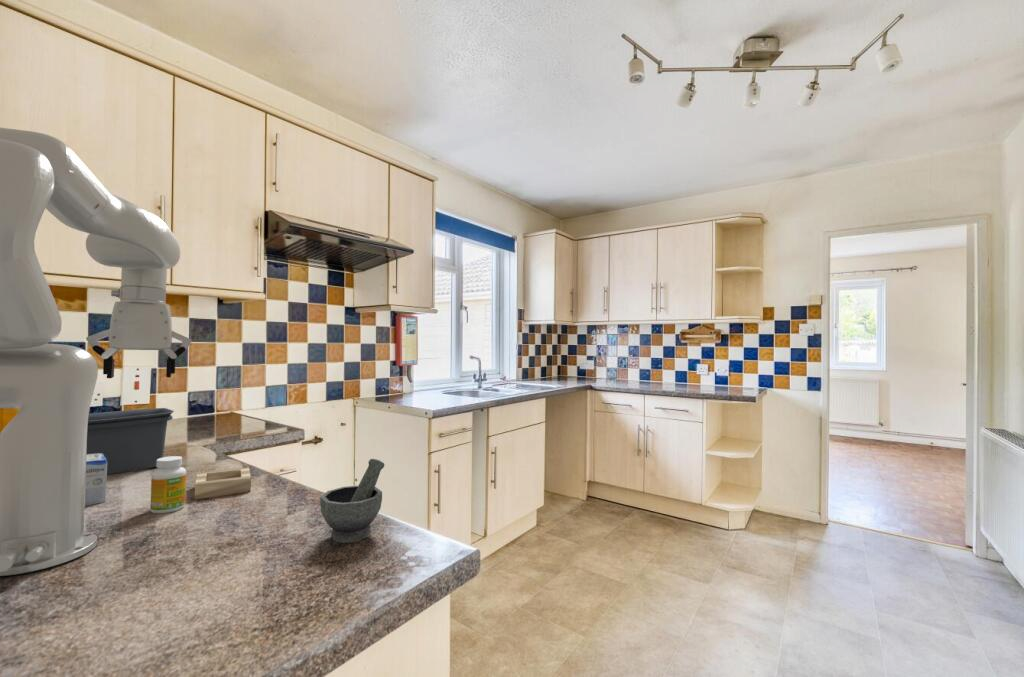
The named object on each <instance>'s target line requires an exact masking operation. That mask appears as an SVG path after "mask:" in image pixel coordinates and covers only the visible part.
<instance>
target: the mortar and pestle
mask: <svg viewBox="0 0 1024 677" xmlns="http://www.w3.org/2000/svg"><path fill="white" fill-rule="evenodd" d="M385 465H386V464H385V463H384V462H383V461H382V460H380V459H376V458H370V459H369V460H368V466H367V467H366V468H367V469H366V470H365V472H364V474H363V476H362V478H361V479H360V482H359V484H358V485H351V486H350V485H349V486H342V487H338V488H334V489H331V490H327V491H326V492H325V493H324V494H322V495H321V496H320V499H319V500H320V511H321V515H322V517H323V519H324V521H325V523H327V525H328V526H329V527H330V528H331V529H332V530H331V535H330V536H331V537H332V538H333V539H332V538H331V537H330V538H331V539H332V540H333V541H334V542H335V541H336V543H342V544H348V543H350V544H351V543H356V542H359V541H362V539H363V540H364V538H365V539H367V538H368V537H369V536H370V534H371V523H373V521H374V520H375V518H376V517H377V516H378V514H379V512H380V510H381V507H382V502H383V491H382V490H380V489H379V488H378V487H377V486H376V485H377V483H378V481H379V476H380V474H381V471H382V469H384V467H385ZM368 535H369V536H368ZM366 537H367V538H366Z"/></svg>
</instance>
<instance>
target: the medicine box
mask: <svg viewBox="0 0 1024 677" xmlns="http://www.w3.org/2000/svg"><path fill="white" fill-rule="evenodd" d="M107 476H108V475H107V460H106V458H105V457H104V455H103V454H102V453H101V454H87V455H86V484H85V507H86V506H92V505H97V503H98V504H102V503H105V502H106V499H107V498H106V497H107Z"/></svg>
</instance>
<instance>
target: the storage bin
mask: <svg viewBox="0 0 1024 677" xmlns="http://www.w3.org/2000/svg"><path fill="white" fill-rule="evenodd" d="M174 412H175V411H174V410H172V409H169V408H166V407H157V408H156V407H155V408H153V407H152V408H139V409H129V410H127V409H126V410H117V411H115V410H114V411H103V412H94V413H93V412H92V413H90V412H89V416H88V427H87V454H101V453H102V454H103V455H104V457H105V458H106V460H107V476H110V475H114V474H115V475H116V474H121V473H122V474H123V473H127V472H133V471H138V470H145V469H151V468H157V467H156V462H157V459H159V458H163V457H164V455H165V454H164V453H165V445H166V435H167V427H168V421H171V420H173V415H172V414H173V413H174ZM87 454H86V455H87ZM109 474H110V475H109Z"/></svg>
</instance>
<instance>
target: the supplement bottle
mask: <svg viewBox="0 0 1024 677" xmlns="http://www.w3.org/2000/svg"><path fill="white" fill-rule="evenodd" d="M182 465H183V457H182V456H180V455H179V456H177V455H173V456H171V455H170V456H165V457H164V456H163V458H159V459H157V462H156V467H155V468H157V469H156V470H155V471H153V472H152V474H151V480H150V481H151V483H150V512H151V513H153V514H167V513H172V512H176V511H179V510H181V509H183V508H184V507H185V506H186V497H187V496H186V495H187V494H186V491H187V469H186V468H184V467H183V466H182Z"/></svg>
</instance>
